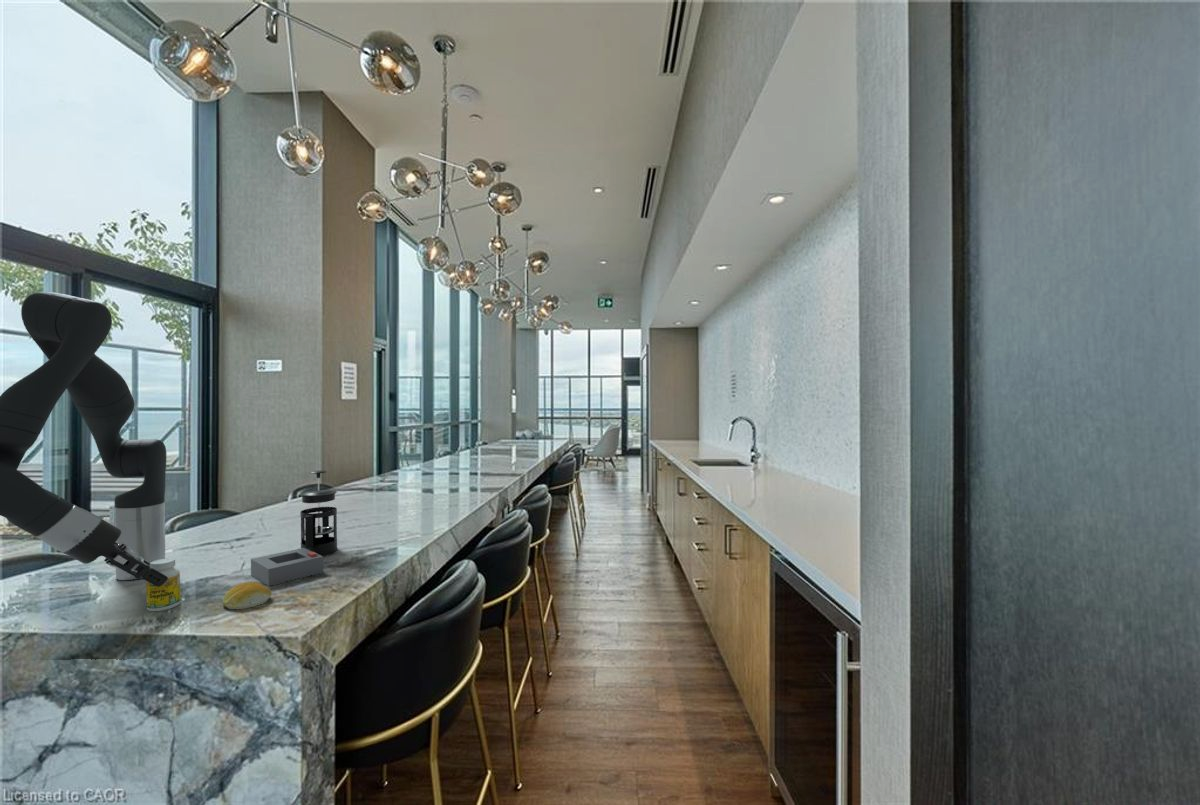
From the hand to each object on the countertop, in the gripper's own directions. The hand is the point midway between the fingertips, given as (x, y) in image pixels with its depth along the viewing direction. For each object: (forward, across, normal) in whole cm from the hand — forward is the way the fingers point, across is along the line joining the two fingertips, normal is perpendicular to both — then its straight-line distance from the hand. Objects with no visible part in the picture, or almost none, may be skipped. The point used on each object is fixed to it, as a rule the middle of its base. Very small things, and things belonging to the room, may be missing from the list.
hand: (159, 577), depth 107 cm
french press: (+30, +14, -21) cm, 40 cm away
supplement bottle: (+5, 0, +4) cm, 6 cm away
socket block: (+22, +2, -13) cm, 25 cm away
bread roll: (+14, -10, -4) cm, 18 cm away
